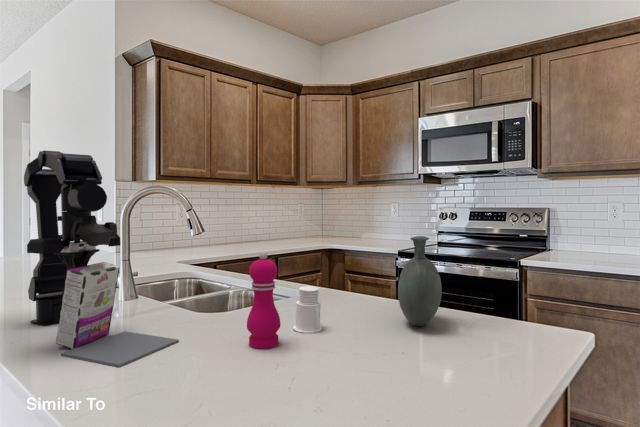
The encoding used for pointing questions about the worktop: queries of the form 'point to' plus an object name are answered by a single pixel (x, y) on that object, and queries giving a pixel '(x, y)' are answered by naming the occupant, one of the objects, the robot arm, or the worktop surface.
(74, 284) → the candy bar box
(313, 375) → the worktop surface
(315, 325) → the downlight
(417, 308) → the flask
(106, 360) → the mat
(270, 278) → the pepper mill
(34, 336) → the worktop surface
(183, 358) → the worktop surface
